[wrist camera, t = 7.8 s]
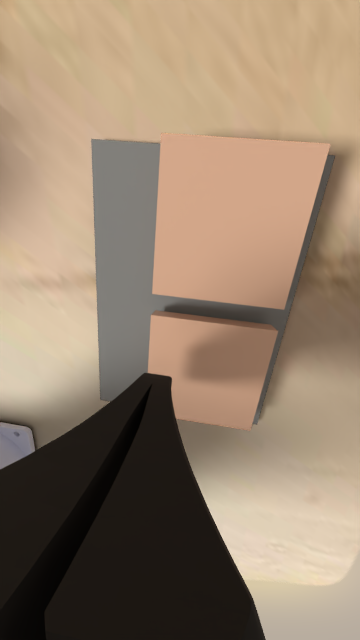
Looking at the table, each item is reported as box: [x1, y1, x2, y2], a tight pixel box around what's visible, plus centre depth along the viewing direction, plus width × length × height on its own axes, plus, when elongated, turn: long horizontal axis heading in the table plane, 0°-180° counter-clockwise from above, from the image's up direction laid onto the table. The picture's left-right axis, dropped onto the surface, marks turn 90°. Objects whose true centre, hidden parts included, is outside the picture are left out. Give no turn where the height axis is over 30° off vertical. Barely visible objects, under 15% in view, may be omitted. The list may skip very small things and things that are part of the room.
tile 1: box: [148, 310, 278, 431], centre depth 11 cm, size 1×6×6 cm
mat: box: [91, 139, 335, 424], centre depth 11 cm, size 11×15×1 cm
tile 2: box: [152, 133, 330, 310], centre depth 9 cm, size 1×6×6 cm
